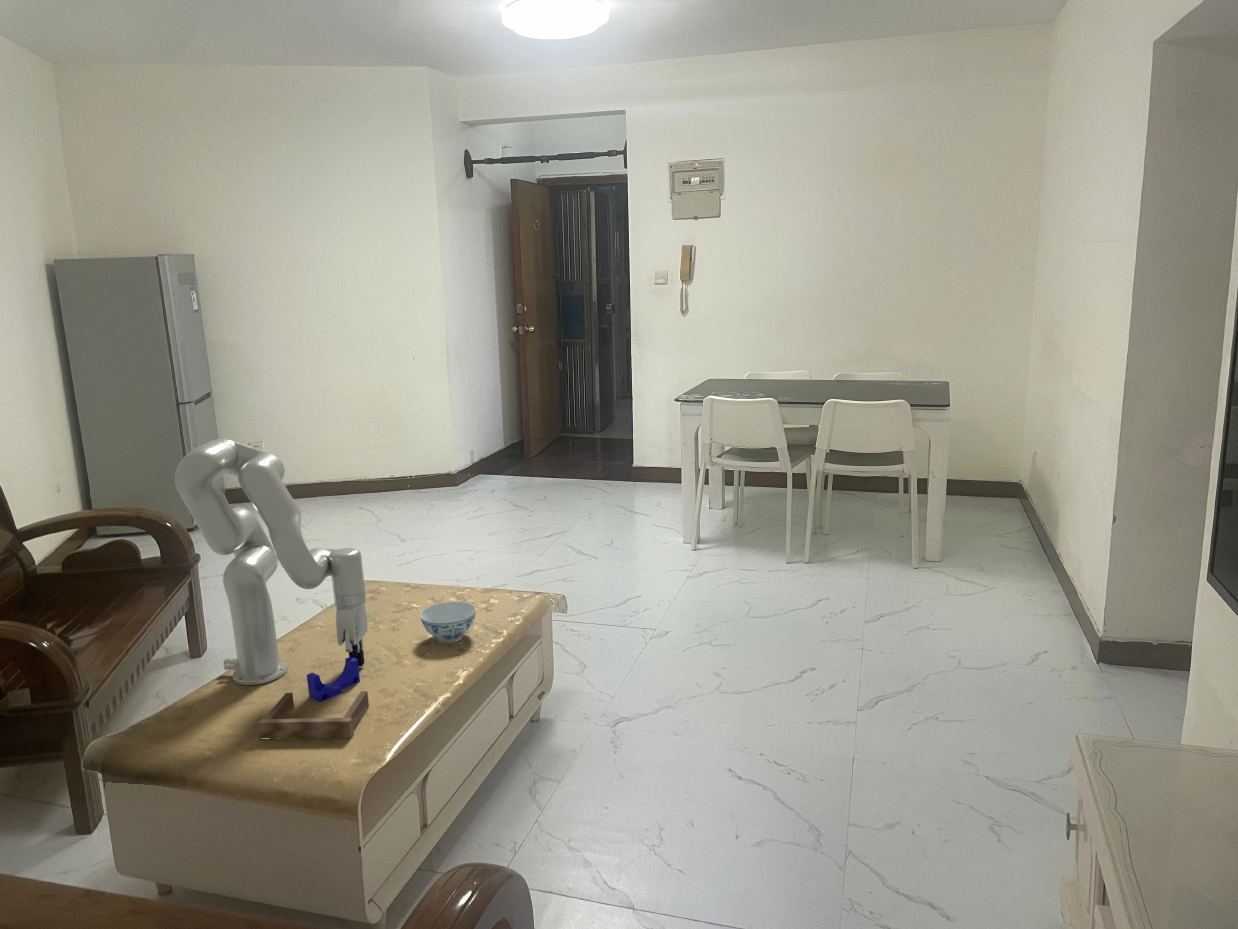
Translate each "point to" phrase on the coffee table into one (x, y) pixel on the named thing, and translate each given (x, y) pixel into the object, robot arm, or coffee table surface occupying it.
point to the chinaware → (448, 620)
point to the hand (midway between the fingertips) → (357, 665)
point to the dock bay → (311, 721)
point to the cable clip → (334, 688)
